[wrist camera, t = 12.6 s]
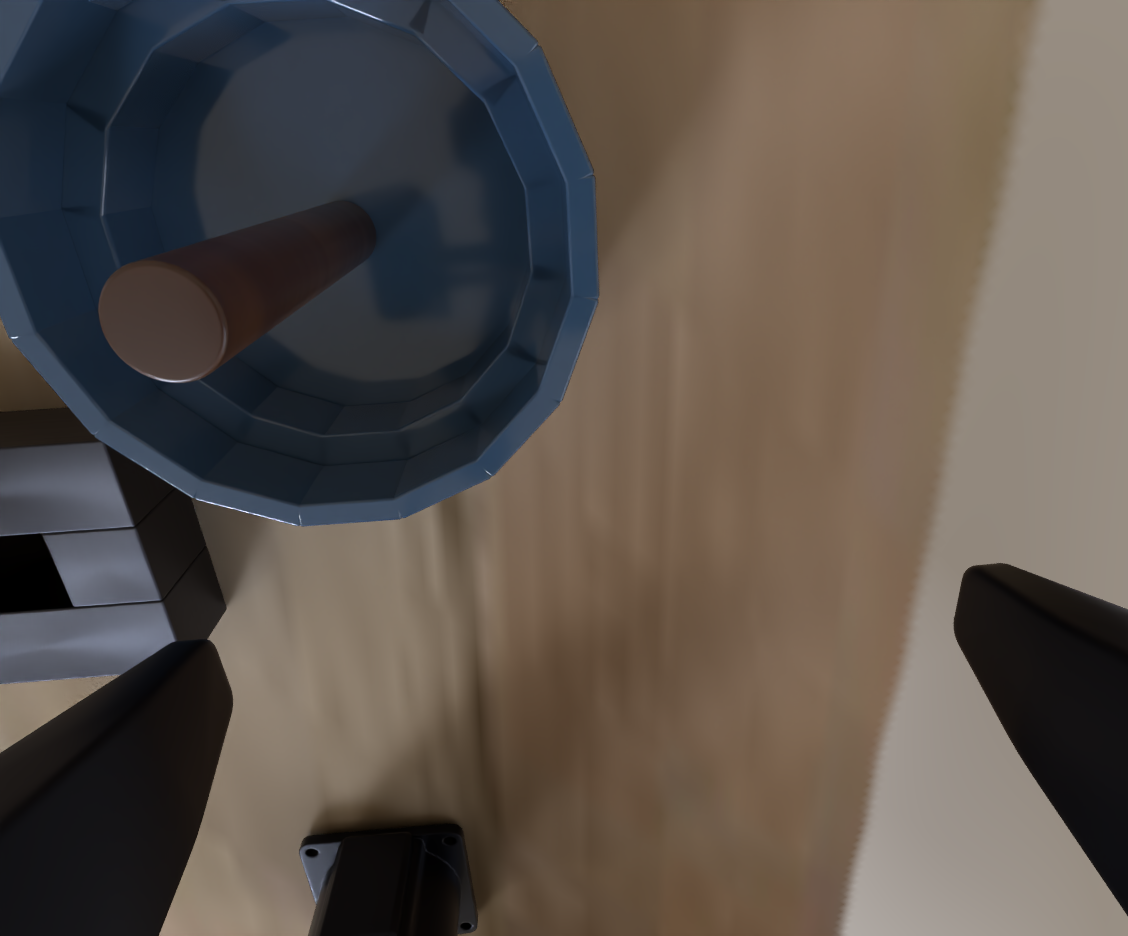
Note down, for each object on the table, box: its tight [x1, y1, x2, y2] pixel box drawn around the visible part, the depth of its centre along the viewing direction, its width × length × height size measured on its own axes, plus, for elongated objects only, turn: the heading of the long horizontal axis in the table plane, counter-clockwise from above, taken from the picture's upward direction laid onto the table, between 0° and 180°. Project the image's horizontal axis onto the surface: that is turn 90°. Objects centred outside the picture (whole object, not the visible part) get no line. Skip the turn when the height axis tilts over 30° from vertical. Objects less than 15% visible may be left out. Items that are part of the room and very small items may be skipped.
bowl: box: [0, 0, 599, 526], centre depth 16 cm, size 12×12×5 cm
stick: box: [98, 201, 376, 383], centre depth 13 cm, size 2×2×10 cm
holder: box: [0, 408, 226, 684], centre depth 20 cm, size 7×7×3 cm
